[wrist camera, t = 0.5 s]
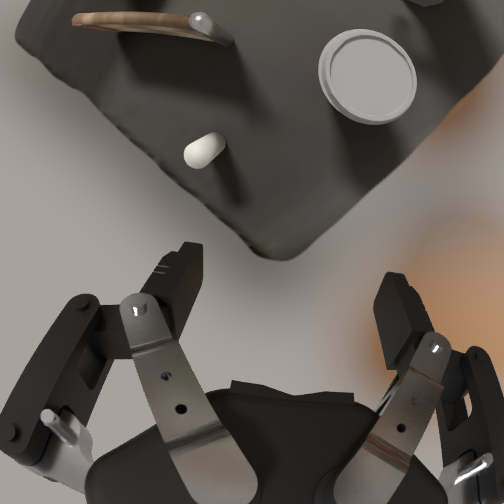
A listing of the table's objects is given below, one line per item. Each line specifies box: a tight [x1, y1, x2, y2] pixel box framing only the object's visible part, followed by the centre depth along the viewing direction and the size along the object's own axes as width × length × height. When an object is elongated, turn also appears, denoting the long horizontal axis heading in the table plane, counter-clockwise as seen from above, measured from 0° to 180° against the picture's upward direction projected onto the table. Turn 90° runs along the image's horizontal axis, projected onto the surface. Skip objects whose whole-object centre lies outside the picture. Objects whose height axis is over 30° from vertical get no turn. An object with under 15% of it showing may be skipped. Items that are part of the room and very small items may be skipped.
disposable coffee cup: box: [318, 29, 417, 125], centre depth 25 cm, size 10×10×12 cm
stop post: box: [184, 132, 226, 169], centre depth 33 cm, size 3×3×8 cm
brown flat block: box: [72, 12, 214, 42], centre depth 24 cm, size 16×2×10 cm, turn 72°
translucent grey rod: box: [189, 12, 233, 47], centre depth 24 cm, size 2×2×12 cm
